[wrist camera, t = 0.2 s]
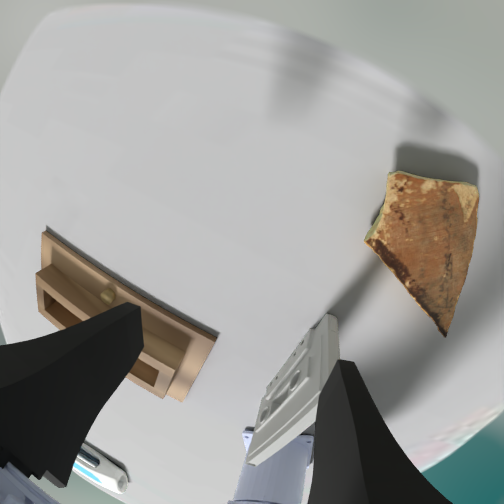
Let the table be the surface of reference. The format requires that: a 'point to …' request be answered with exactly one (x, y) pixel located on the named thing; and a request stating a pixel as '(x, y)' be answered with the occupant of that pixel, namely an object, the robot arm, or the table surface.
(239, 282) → the table surface
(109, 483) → the white step stool
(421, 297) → the shard
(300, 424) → the cassette
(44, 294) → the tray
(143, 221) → the table surface
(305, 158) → the table surface
